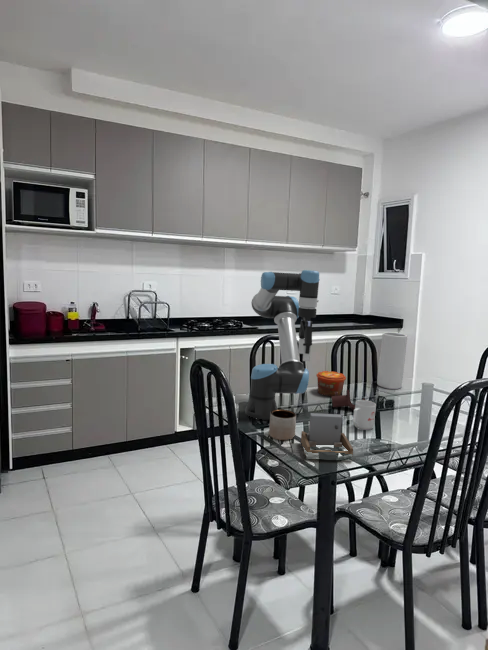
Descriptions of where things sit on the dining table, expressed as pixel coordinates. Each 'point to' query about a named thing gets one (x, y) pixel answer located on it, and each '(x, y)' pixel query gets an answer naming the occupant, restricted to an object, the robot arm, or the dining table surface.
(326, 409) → the dining table surface
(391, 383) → the vase
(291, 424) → the planter
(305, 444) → the carcass
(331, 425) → the door
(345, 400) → the bracket
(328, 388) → the food container
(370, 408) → the mug
